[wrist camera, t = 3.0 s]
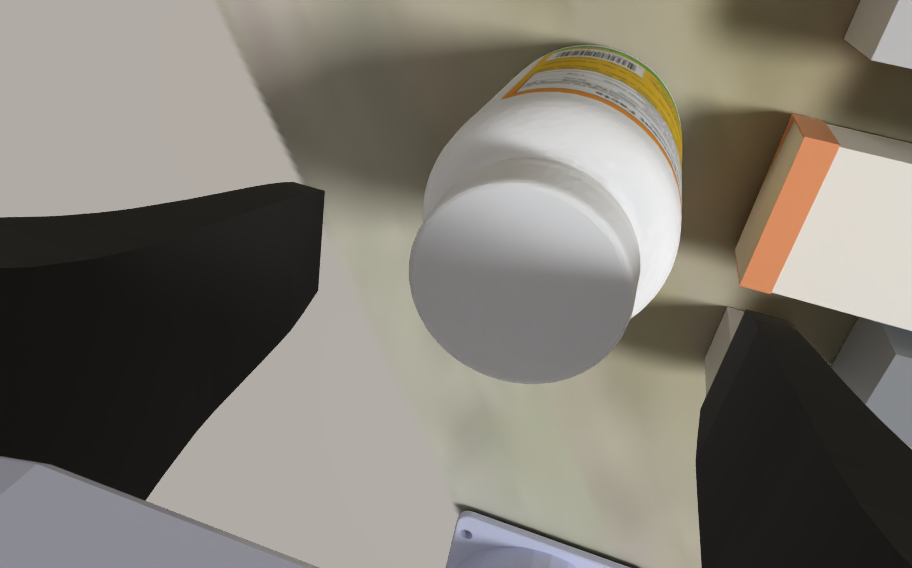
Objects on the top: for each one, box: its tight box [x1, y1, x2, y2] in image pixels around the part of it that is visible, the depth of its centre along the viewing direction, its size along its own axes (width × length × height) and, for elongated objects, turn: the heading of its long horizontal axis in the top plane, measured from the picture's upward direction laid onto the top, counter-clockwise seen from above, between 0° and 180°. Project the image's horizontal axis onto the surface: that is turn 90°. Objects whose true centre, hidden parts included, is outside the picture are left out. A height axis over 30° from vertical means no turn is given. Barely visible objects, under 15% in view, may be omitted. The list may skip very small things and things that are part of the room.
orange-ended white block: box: [735, 114, 912, 331], centre depth 17 cm, size 4×6×2 cm
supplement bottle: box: [409, 45, 682, 384], centre depth 16 cm, size 5×5×10 cm
